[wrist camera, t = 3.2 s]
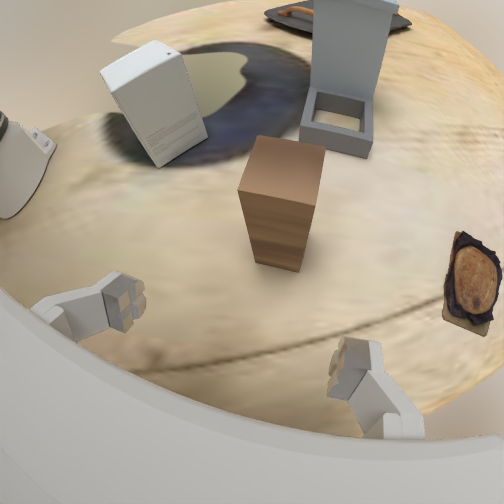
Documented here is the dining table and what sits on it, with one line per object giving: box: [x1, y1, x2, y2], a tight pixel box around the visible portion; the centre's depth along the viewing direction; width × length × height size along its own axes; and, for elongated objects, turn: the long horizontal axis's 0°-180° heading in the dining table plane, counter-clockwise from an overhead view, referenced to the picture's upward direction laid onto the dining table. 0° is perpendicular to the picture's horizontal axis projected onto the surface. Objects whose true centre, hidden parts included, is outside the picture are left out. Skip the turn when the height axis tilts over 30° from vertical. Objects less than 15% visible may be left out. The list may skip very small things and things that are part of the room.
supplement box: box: [99, 40, 208, 168], centre depth 26 cm, size 7×7×13 cm
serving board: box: [264, 0, 412, 33], centre depth 41 cm, size 39×23×6 cm, turn 132°
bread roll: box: [442, 231, 502, 337], centre depth 21 cm, size 11×8×4 cm
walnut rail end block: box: [238, 135, 326, 273], centre depth 20 cm, size 4×4×12 cm
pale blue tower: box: [299, 0, 399, 159], centre depth 23 cm, size 14×9×17 cm, turn 164°
